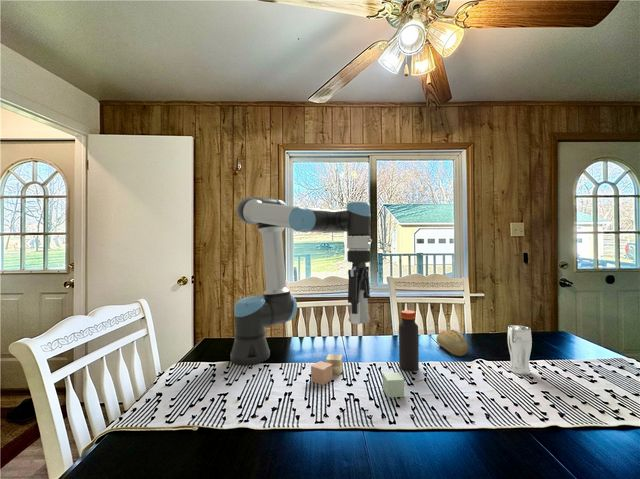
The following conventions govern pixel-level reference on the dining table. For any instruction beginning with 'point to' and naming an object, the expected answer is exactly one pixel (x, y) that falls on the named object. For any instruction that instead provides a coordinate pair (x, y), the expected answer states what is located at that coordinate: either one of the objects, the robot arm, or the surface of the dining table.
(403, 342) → the bottle
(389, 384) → the sage block
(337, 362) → the maple block
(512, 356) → the beer glass
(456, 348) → the bread roll
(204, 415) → the dining table surface
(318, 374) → the terracotta block
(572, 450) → the dining table surface
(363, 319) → the flask
